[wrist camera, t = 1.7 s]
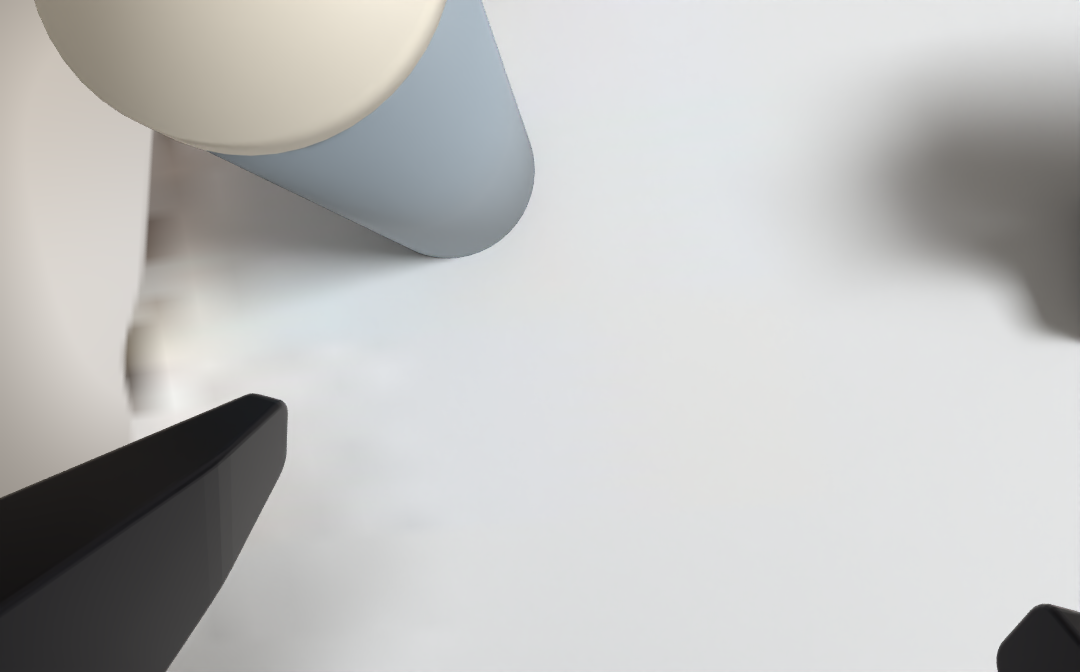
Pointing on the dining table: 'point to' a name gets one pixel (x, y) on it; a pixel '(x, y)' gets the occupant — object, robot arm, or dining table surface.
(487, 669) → the dining table surface
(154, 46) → the tin
